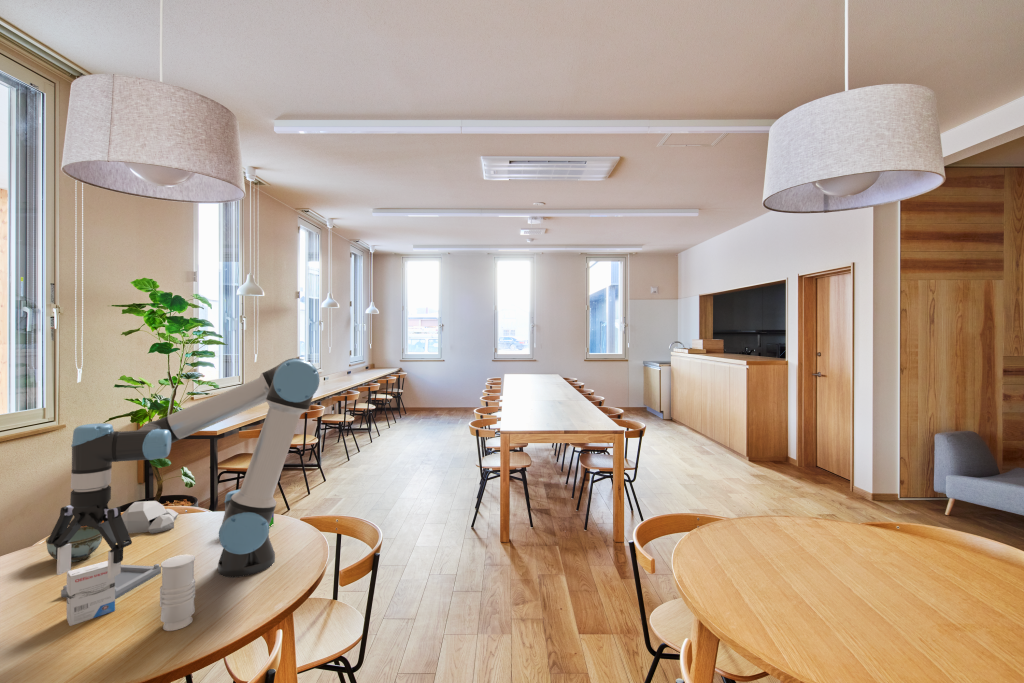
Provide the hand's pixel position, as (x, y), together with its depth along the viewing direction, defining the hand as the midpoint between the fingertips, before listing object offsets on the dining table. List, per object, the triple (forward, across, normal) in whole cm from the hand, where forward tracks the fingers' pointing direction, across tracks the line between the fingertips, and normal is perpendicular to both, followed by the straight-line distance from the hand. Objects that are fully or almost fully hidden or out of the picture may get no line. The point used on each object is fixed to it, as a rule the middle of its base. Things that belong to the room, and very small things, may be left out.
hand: (88, 574), depth 118 cm
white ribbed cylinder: (+10, -24, +1) cm, 26 cm away
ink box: (+10, 0, 0) cm, 10 cm away
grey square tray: (+10, +8, -14) cm, 19 cm away
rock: (+11, +32, -53) cm, 63 cm away
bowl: (+11, +34, -27) cm, 44 cm away
